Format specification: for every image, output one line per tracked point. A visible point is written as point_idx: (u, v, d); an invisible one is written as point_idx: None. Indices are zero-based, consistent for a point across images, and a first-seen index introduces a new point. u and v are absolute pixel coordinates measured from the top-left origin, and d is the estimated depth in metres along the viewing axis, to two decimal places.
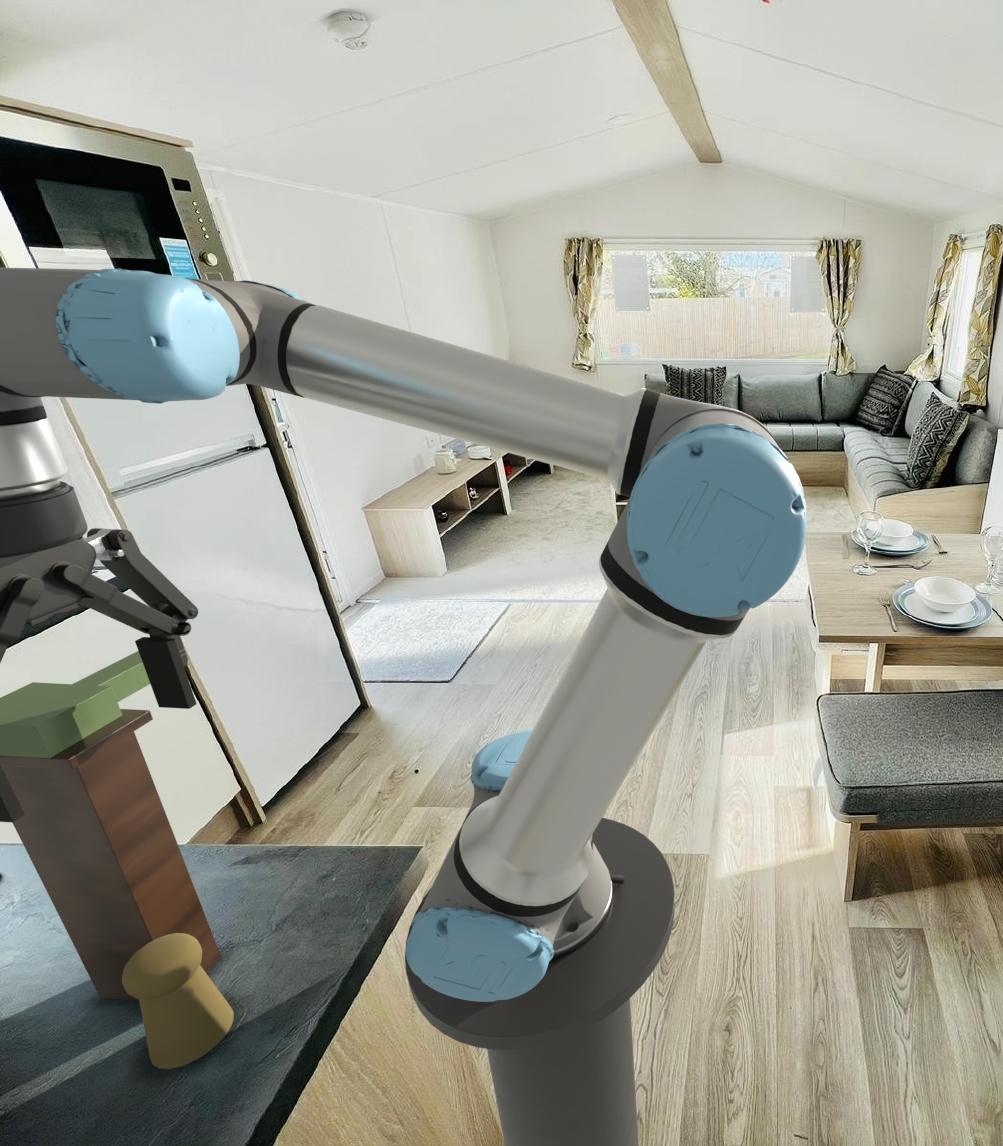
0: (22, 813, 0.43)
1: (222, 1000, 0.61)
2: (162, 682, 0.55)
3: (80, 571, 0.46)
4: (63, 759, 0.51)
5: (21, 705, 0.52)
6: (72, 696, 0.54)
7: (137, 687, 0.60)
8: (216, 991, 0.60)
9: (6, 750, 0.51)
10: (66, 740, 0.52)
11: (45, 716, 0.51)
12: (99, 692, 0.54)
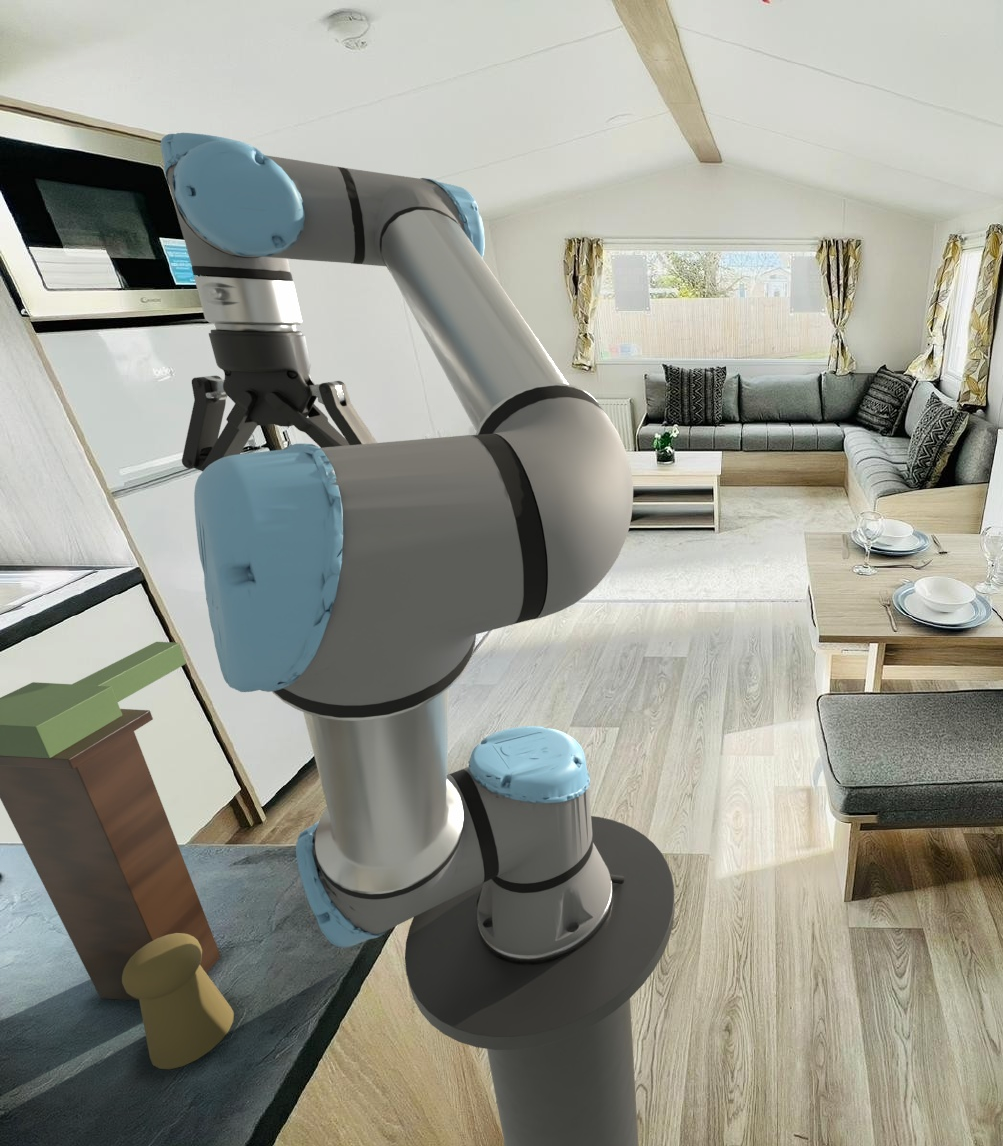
0: None
1: (222, 1000, 0.61)
2: None
3: None
4: (63, 759, 0.51)
5: (21, 705, 0.52)
6: (72, 696, 0.54)
7: (137, 687, 0.60)
8: (216, 991, 0.60)
9: (6, 750, 0.51)
10: (66, 740, 0.52)
11: (45, 716, 0.51)
12: (99, 692, 0.54)
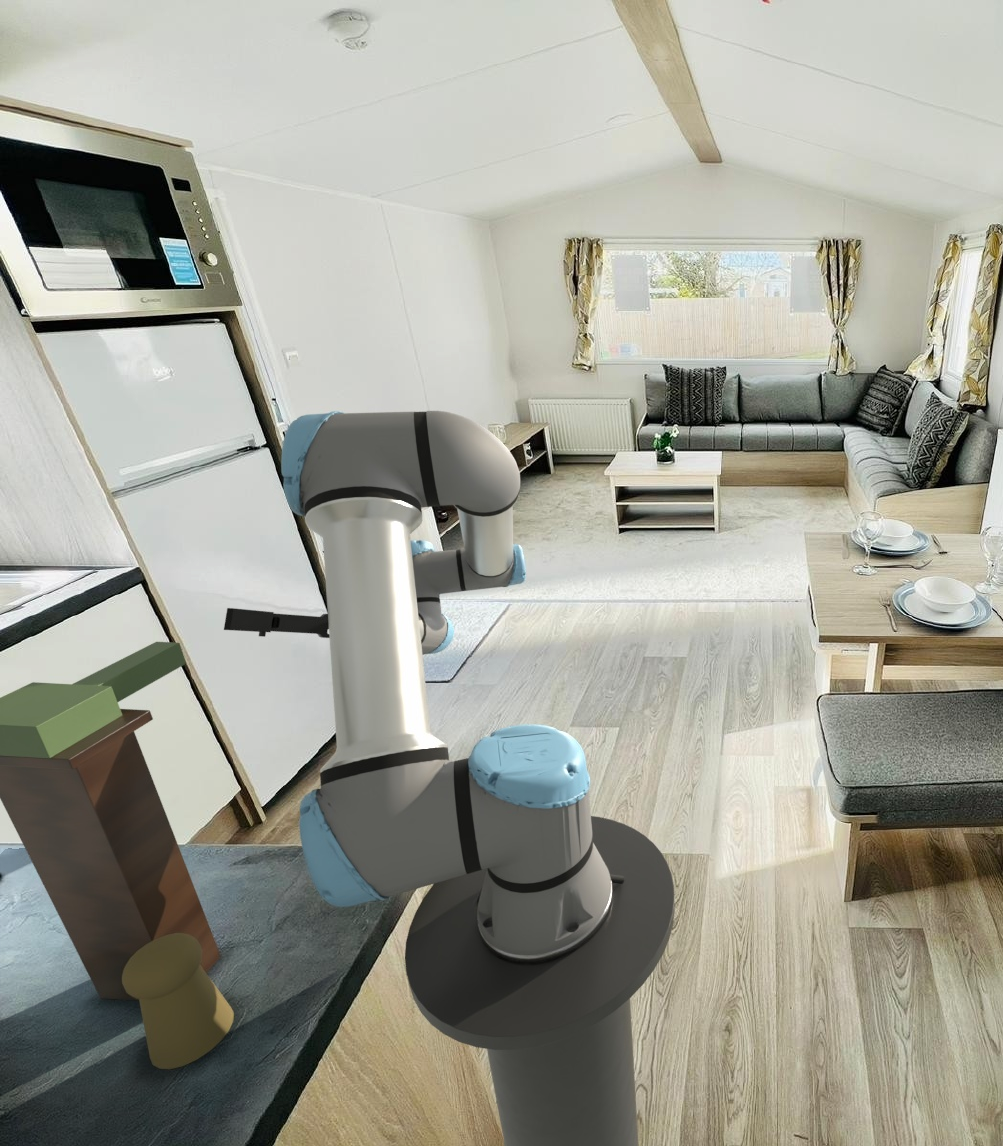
0: None
1: (222, 1000, 0.61)
2: (248, 618, 0.81)
3: None
4: (63, 759, 0.51)
5: (21, 705, 0.52)
6: (72, 696, 0.54)
7: (137, 687, 0.60)
8: (216, 991, 0.60)
9: (6, 750, 0.51)
10: (66, 740, 0.52)
11: (45, 716, 0.51)
12: (99, 692, 0.54)
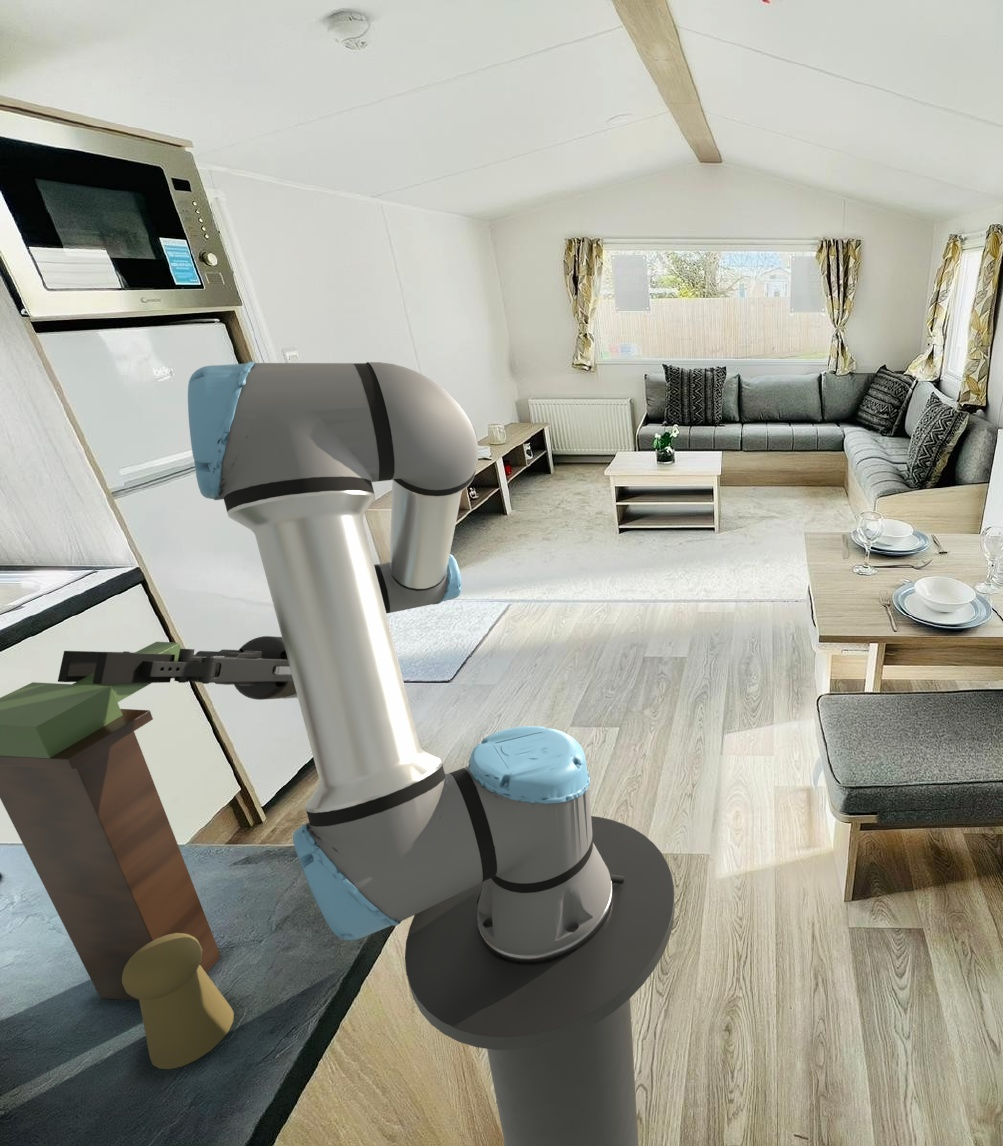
0: (96, 683, 0.56)
1: (222, 1000, 0.61)
2: None
3: None
4: (63, 759, 0.51)
5: (21, 705, 0.52)
6: (72, 696, 0.54)
7: (137, 687, 0.60)
8: (216, 991, 0.60)
9: (6, 750, 0.51)
10: (66, 740, 0.52)
11: (45, 716, 0.51)
12: (99, 692, 0.54)
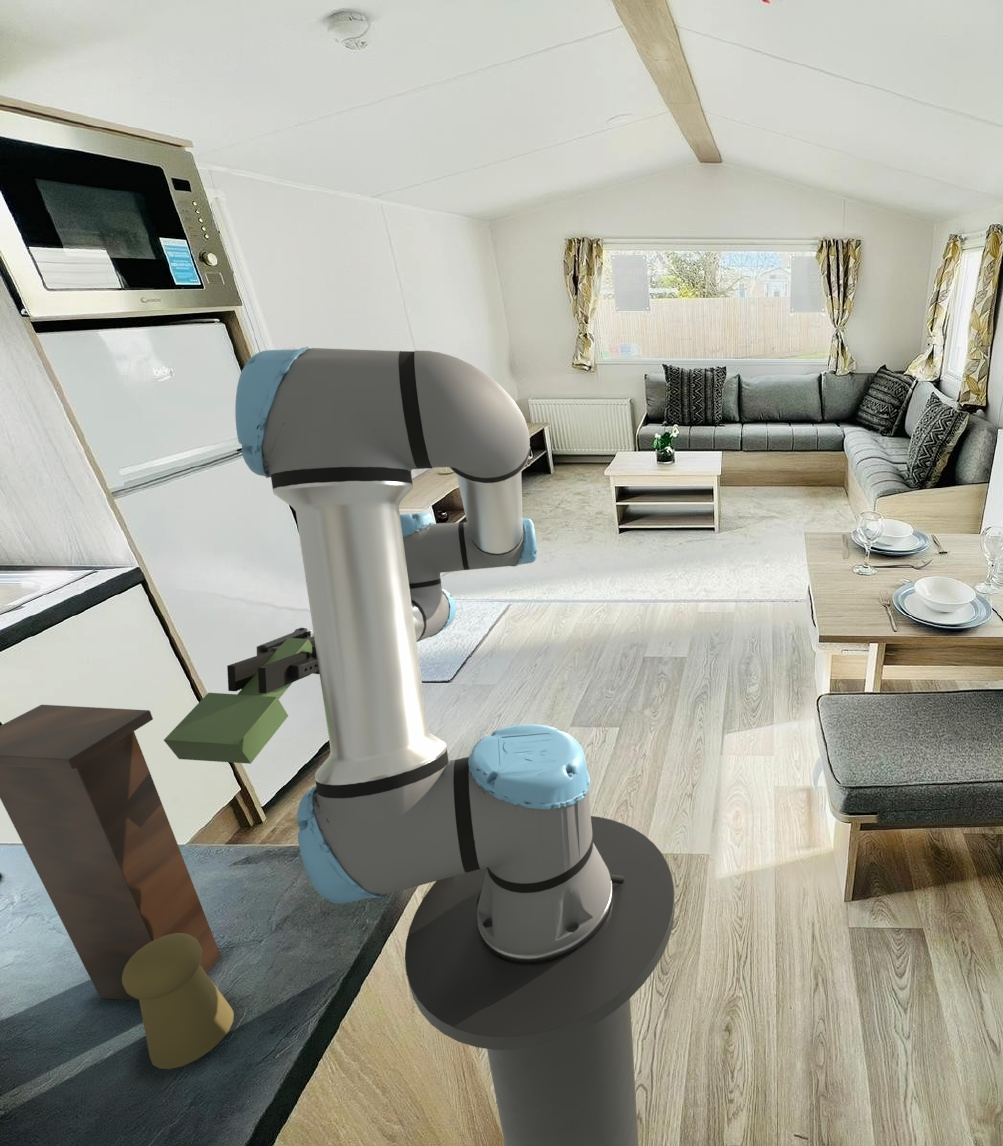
0: (261, 692, 0.66)
1: (222, 1000, 0.61)
2: (254, 669, 0.68)
3: None
4: (63, 759, 0.51)
5: (213, 719, 0.63)
6: (250, 709, 0.64)
7: (288, 685, 0.70)
8: (216, 991, 0.60)
9: (214, 758, 0.62)
10: (257, 747, 0.63)
11: (239, 732, 0.62)
12: (270, 704, 0.65)
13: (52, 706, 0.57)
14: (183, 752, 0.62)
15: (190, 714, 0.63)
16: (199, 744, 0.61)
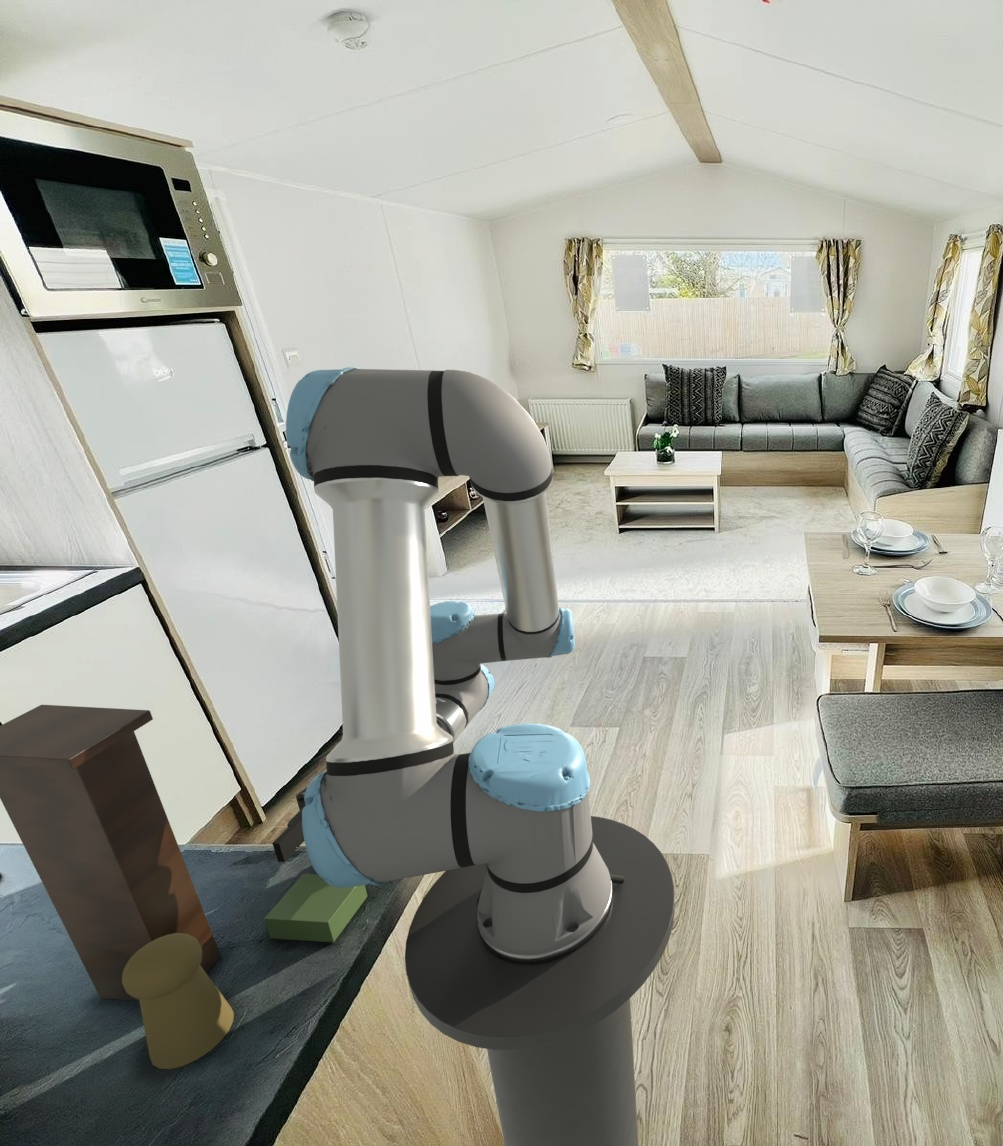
0: None
1: (222, 1000, 0.61)
2: (297, 834, 0.74)
3: None
4: (63, 759, 0.51)
5: (307, 899, 0.71)
6: (339, 889, 0.72)
7: None
8: (216, 991, 0.60)
9: (302, 936, 0.69)
10: (341, 926, 0.70)
11: (329, 911, 0.69)
12: None
13: (52, 706, 0.57)
14: (277, 930, 0.69)
15: (287, 894, 0.71)
16: (294, 922, 0.68)
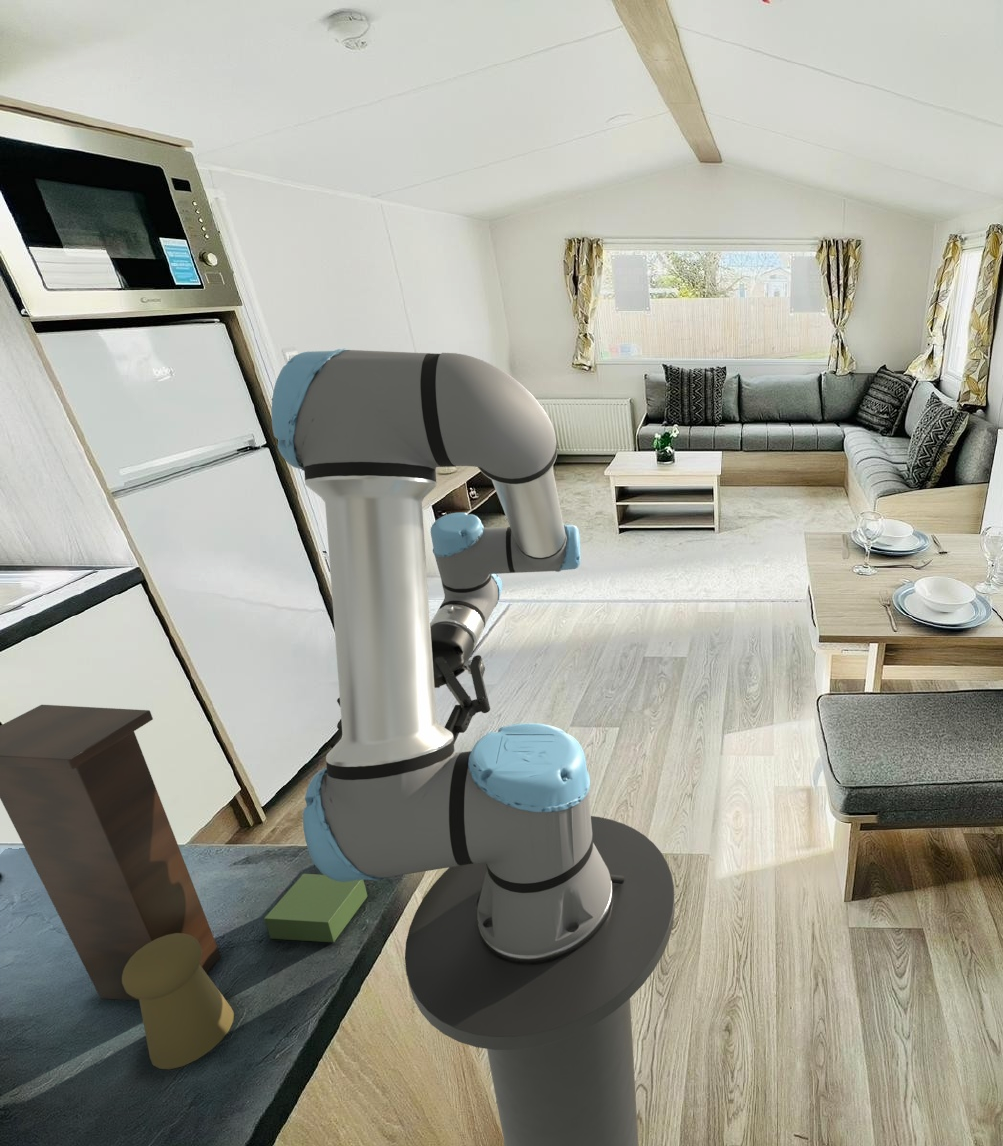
0: None
1: (222, 1000, 0.61)
2: None
3: None
4: (63, 759, 0.51)
5: (307, 899, 0.71)
6: (339, 889, 0.72)
7: None
8: (216, 991, 0.60)
9: (302, 936, 0.69)
10: (341, 926, 0.70)
11: (329, 911, 0.69)
12: (356, 884, 0.73)
13: (52, 706, 0.57)
14: (277, 930, 0.69)
15: (287, 894, 0.71)
16: (294, 922, 0.68)
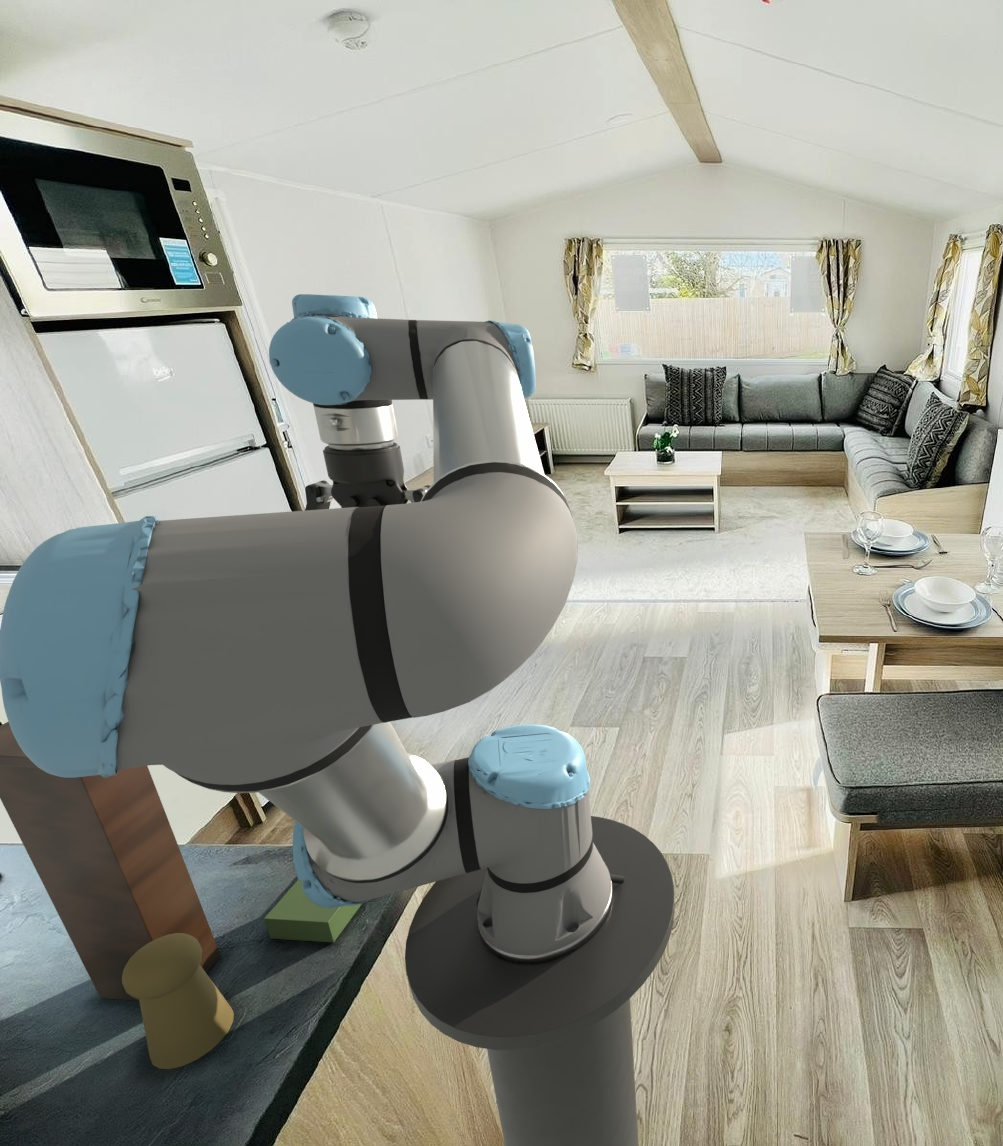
0: None
1: (222, 1000, 0.61)
2: None
3: None
4: None
5: (307, 899, 0.71)
6: None
7: None
8: (216, 991, 0.60)
9: (302, 936, 0.69)
10: (341, 926, 0.70)
11: (329, 911, 0.69)
12: None
13: None
14: (277, 930, 0.69)
15: (287, 894, 0.71)
16: (294, 922, 0.68)
